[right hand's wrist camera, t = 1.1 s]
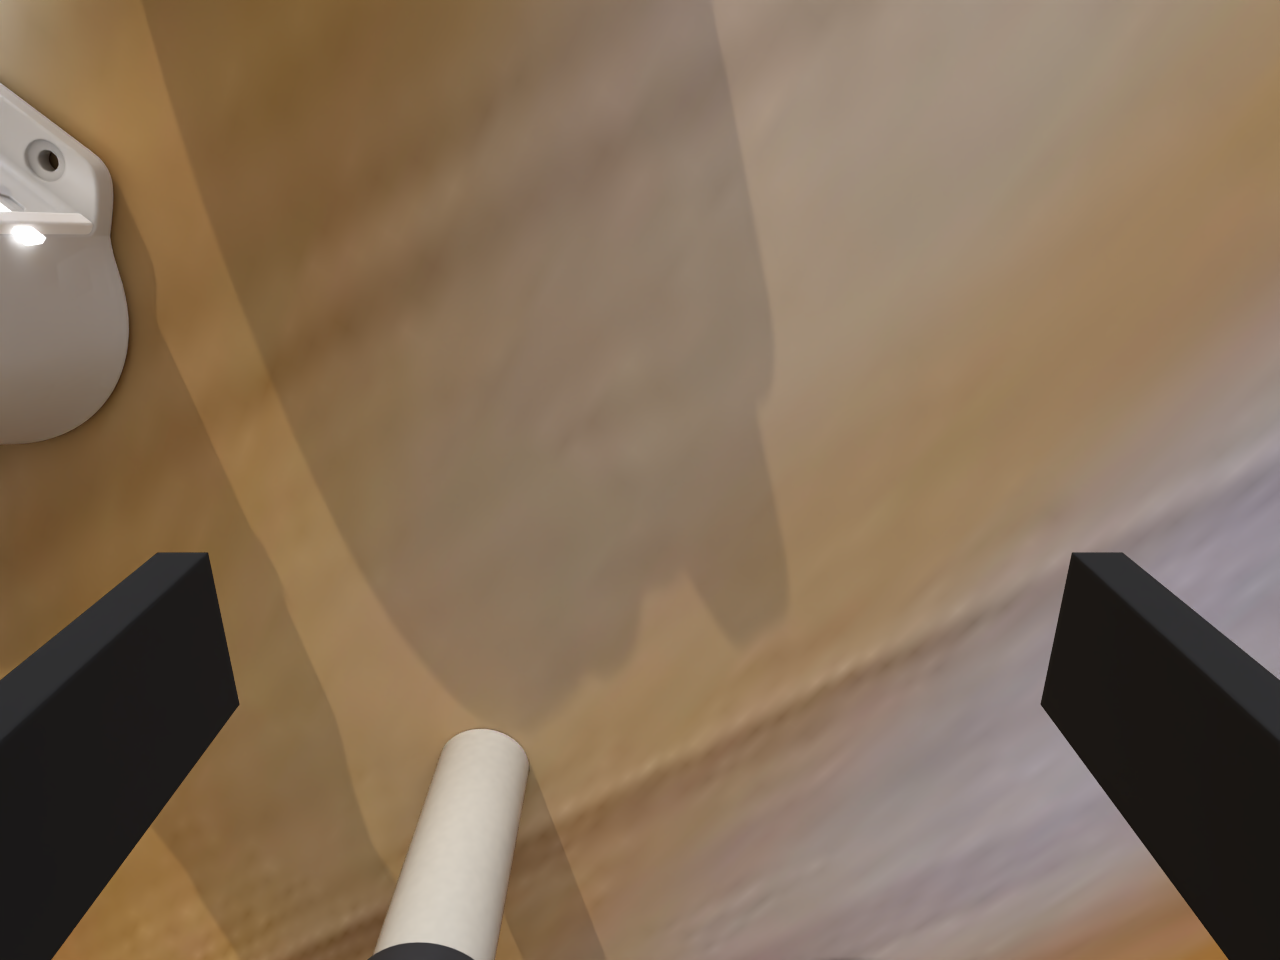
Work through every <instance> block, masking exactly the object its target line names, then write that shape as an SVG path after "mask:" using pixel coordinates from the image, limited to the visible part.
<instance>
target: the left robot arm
mask: <svg viewBox="0 0 1280 960" xmlns="http://www.w3.org/2000/svg"><path fill="white" fill-rule="evenodd" d="M51 152H53V153H54V154H55V155H56V157H57V159H58V162H59V165H58V168H57V169H56V170H55V169H54V168H53V167H52V166H51V164H50V161H49V155H50V153H51ZM112 213H113V184H112V178H111V175H110V173H109V170H108V168H107V167H106V165H105V164H104V163H103V161H102V160H101V159H100V158H99V157H98V156H97V155H96V154H94V153H93V152H92V151H90V150H89V149H88V148H86V147H85V146H84V145H82V144H81V143H80V142H78V141H77V140H76V139H74V138H73V137H72V136H70V135H69V134H68V133H66V132H65V131H64V130H62V129H61V128H60V127H58V126H57V125H56V124H55V123H53V122H52V121H51V120H49V119H48V118H47V117H45V116H44V115H43V114H41V113H40V112H39V111H37V110H36V109H35V108H33V107H32V106H31V105H29V104H28V103H27V102H25V101H24V100H23V99H21V98H20V97H19V96H17V95H16V94H15V93H13V92H12V91H11V90H9V89H8V88H7V87H5V86H4V85H3V84H1V83H0V445H2V444H25V443H33V442H39V441H44V440H48V439H51V438H54V437H57V436H60V435H62V434H65V433H67V432H69V431H71V430H73V429H75V428H76V427H78V426H80V425H81V424H83V423H84V422H85V421H87V420H88V419H89V418H90V417H92V416H93V415H94V414H95V413H96V412H97V411H98V410H99V409H100V408H101V407H102V406H103V404H104V403H105V402H106V401H107V399H108V398H109V396H110V395H111V393H112V392H113V390H114V388H115V386H116V384H117V382H118V380H119V378H120V375H121V373H122V370H123V367H124V364H125V359H126V355H127V349H128V340H129V317H128V307H127V301H126V296H125V292H124V287H123V284H122V280H121V277H120V274H119V271H118V267H117V264H116V261H115V258H114V254H113V250H112V245H111V239H110V233H111V224H112Z"/></svg>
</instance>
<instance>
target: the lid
mask: <svg viewBox="0 0 1280 960" xmlns="http://www.w3.org/2000/svg"><path fill="white" fill-rule="evenodd" d="M368 960H474V959H473V958H471V957H470V956H468V955H466V954H465V953H463V952H461V951H458V950H456V949H453V948H450V947H447V946H444V945H439V944H434V943H425V942H413V943H404V944H398V945H394V946H391V947H388V948H386V949H383V950H381V951H379V952H377V953H376V954H374V955H373V956H371V957H370V958H369V959H368Z"/></svg>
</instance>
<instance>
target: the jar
mask: <svg viewBox="0 0 1280 960" xmlns="http://www.w3.org/2000/svg"><path fill="white" fill-rule="evenodd" d="M528 775H529V761H528V758H527V755H526V753H525V751H524V750H523V748H522V747H521V746H520V745H519V744H518V743H517V742H516V741H515V740H514V739H512V738H511V737H509V736H508V735H506V734H504V733H501V732H498V731H495V730H490V729H473V730H468V731H464V732H462V733H460V734H457V735H456V736H454V737H453V738H451V739H450V740H449V741H448V742H447V743H446V744H445V746H444V747H443V749H442V751H441V753H440V756H439V759H438V762H437V765H436V768H435V771H434V774H433V777H432V780H431V783H430V786H429V789H428V792H427V795H426V798H425V801H424V804H423V807H422V809H421V812H420V815H419V818H418V821H417V824H416V827H415V830H414V833H413V836H412V839H411V842H410V845H409V848H408V851H407V854H406V857H405V860H404V863H403V866H402V869H401V872H400V875H399V878H398V881H397V884H396V887H395V890H394V893H393V896H392V899H391V902H390V904H389V907H388V910H387V913H386V916H385V919H384V922H383V925H382V928H381V931H380V934H379V937H378V940H377V943H376V946H375V949H374V952H373V955H374V954H376V953H377V952H379V951H381V950H383V949H386V948H388V947H391V946H394V945H398V944H404V943H413V942H425V943H434V944H439V945H444V946H447V947H450V948H453V949H456V950H458V951H461V952H463V953H465V954H466V955H468V956H470V957H471V958H473V959H474V960H495V957H496V951H497V946H498V940H499V935H500V929H501V924H502V918H503V913H504V907H505V902H506V896H507V891H508V885H509V880H510V874H511V869H512V863H513V858H514V852H515V847H516V841H517V836H518V830H519V825H520V819H521V814H522V808H523V803H524V797H525V792H526V786H527V780H528ZM373 955H372V956H373Z"/></svg>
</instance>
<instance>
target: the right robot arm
mask: <svg viewBox="0 0 1280 960" xmlns="http://www.w3.org/2000/svg"><path fill="white" fill-rule="evenodd" d="M238 706H239V700H238V695H237V691H236V686H235V681H234V676H233V671H232V666H231V662H230V657H229V652H228V647H227V642H226V637H225V633H224V628H223V623H222V618H221V613H220V608H219V604H218V599H217V594H216V589H215V584H214V579H213V574H212V570H211V565H210V560H209V555H208V553H156V554H155V555H154V556H153V557H152V558H150V559H149V560H148V561H147V562H145V563H144V564H143V565H142V566H140V567H139V568H138V569H137V570H136V571H134V572H133V573H132V574H131V575H129V576H128V577H127V578H126V579H124V580H123V581H122V582H121V583H119V584H118V585H117V586H116V587H115V588H113V589H112V590H111V591H110V592H108V593H107V594H106V595H105V596H103V597H102V598H101V599H100V600H99V601H97V602H96V603H95V604H94V605H92V606H91V607H90V608H89V609H87V610H86V611H85V612H84V613H83V614H81V615H80V616H79V617H78V618H76V619H75V620H74V621H73V622H71V623H70V624H69V625H68V626H67V627H65V628H64V629H63V630H62V631H60V632H59V633H58V634H57V635H55V636H54V637H53V638H52V639H51V640H49V641H48V642H47V643H46V644H44V645H43V646H42V647H41V648H39V649H38V650H37V651H36V652H35V653H33V654H32V655H31V656H30V657H28V658H27V659H26V660H25V661H23V662H22V663H21V664H20V665H19V666H17V667H16V668H15V669H14V670H12V671H11V672H10V673H9V674H7V675H6V676H5V677H4V678H3V679H1V680H0V960H51V959H52V958H53V957H54V955H55V954H56V953H57V951H58V950H59V948H60V947H61V946H62V944H63V943H64V942H65V940H66V939H67V938H68V936H69V935H70V934H71V932H72V931H73V929H74V928H75V927H76V925H77V924H78V923H79V921H80V920H81V919H82V917H83V916H84V915H85V913H86V912H87V911H88V909H89V908H90V906H91V905H92V904H93V902H94V901H95V900H96V898H97V897H98V896H99V894H100V893H101V892H102V890H103V889H104V887H105V886H106V885H107V883H108V882H109V881H110V879H111V878H112V877H113V875H114V874H115V873H116V871H117V870H118V868H119V867H120V866H121V864H122V863H123V862H124V860H125V859H126V858H127V856H128V855H129V854H130V852H131V851H132V849H133V848H134V847H135V845H136V844H137V843H138V841H139V840H140V839H141V837H142V836H143V835H144V833H145V832H146V830H147V829H148V828H149V826H150V825H151V824H152V822H153V821H154V820H155V818H156V817H157V816H158V814H159V813H160V811H161V810H162V809H163V807H164V806H165V805H166V803H167V802H168V801H169V799H170V798H171V797H172V795H173V794H174V792H175V791H176V790H177V788H178V787H179V786H180V784H181V783H182V782H183V780H184V779H185V778H186V776H187V775H188V773H189V772H190V771H191V769H192V768H193V767H194V765H195V764H196V763H197V761H198V760H199V759H200V757H201V756H202V754H203V753H204V752H205V750H206V749H207V748H208V746H209V745H210V744H211V742H212V741H213V740H214V738H215V737H216V735H217V734H218V733H219V731H220V730H221V729H222V727H223V726H224V725H225V723H226V722H227V721H228V719H229V718H230V716H231V715H232V714H233V712H234V711H235V710H236V708H237V707H238ZM1041 706H1042V707H1043V708H1044V710H1045V711H1046V712H1047V714H1048V715H1049V716H1050V718H1051V719H1052V721H1053V722H1054V723H1055V725H1056V726H1057V727H1058V729H1059V730H1060V731H1061V733H1062V734H1063V735H1064V737H1065V738H1066V740H1067V741H1068V742H1069V744H1070V745H1071V746H1072V748H1073V749H1074V750H1075V752H1076V753H1077V754H1078V756H1079V757H1080V759H1081V760H1082V761H1083V763H1084V764H1085V765H1086V767H1087V768H1088V769H1089V771H1090V772H1091V773H1092V775H1093V776H1094V778H1095V779H1096V780H1097V782H1098V783H1099V784H1100V786H1101V787H1102V788H1103V790H1104V791H1105V792H1106V794H1107V795H1108V797H1109V798H1110V799H1111V801H1112V802H1113V803H1114V805H1115V806H1116V807H1117V809H1118V810H1119V811H1120V813H1121V814H1122V816H1123V817H1124V818H1125V820H1126V821H1127V822H1128V824H1129V825H1130V826H1131V828H1132V829H1133V830H1134V832H1135V833H1136V835H1137V836H1138V837H1139V839H1140V840H1141V841H1142V843H1143V844H1144V845H1145V847H1146V848H1147V849H1148V851H1149V852H1150V854H1151V855H1152V856H1153V858H1154V859H1155V860H1156V862H1157V863H1158V864H1159V866H1160V867H1161V868H1162V870H1163V871H1164V873H1165V874H1166V875H1167V877H1168V878H1169V879H1170V881H1171V882H1172V883H1173V885H1174V886H1175V887H1176V889H1177V890H1178V892H1179V893H1180V894H1181V896H1182V897H1183V898H1184V900H1185V901H1186V902H1187V904H1188V905H1189V906H1190V908H1191V909H1192V911H1193V912H1194V913H1195V915H1196V916H1197V917H1198V919H1199V920H1200V921H1201V923H1202V924H1203V925H1204V927H1205V928H1206V929H1207V931H1208V932H1209V934H1210V935H1211V936H1212V938H1213V939H1214V940H1215V942H1216V943H1217V944H1218V946H1219V947H1220V948H1221V950H1222V951H1223V953H1224V954H1225V955H1226V957H1227V958H1228V959H1229V960H1280V680H1279V679H1277V678H1276V677H1275V676H1274V675H1273V674H1271V673H1270V672H1269V671H1268V670H1266V669H1265V668H1264V667H1263V666H1261V665H1260V664H1259V663H1258V662H1257V661H1255V660H1254V659H1253V658H1252V657H1250V656H1249V655H1248V654H1247V653H1245V652H1244V651H1243V650H1242V649H1241V648H1239V647H1238V646H1237V645H1236V644H1234V643H1233V642H1232V641H1231V640H1229V639H1228V638H1227V637H1226V636H1225V635H1223V634H1222V633H1221V632H1220V631H1218V630H1217V629H1216V628H1215V627H1213V626H1212V625H1211V624H1210V623H1209V622H1207V621H1206V620H1205V619H1204V618H1202V617H1201V616H1200V615H1199V614H1197V613H1196V612H1195V611H1194V610H1193V609H1191V608H1190V607H1189V606H1188V605H1186V604H1185V603H1184V602H1183V601H1181V600H1180V599H1179V598H1178V597H1177V596H1175V595H1174V594H1173V593H1172V592H1170V591H1169V590H1168V589H1167V588H1165V587H1164V586H1163V585H1162V584H1161V583H1159V582H1158V581H1157V580H1156V579H1154V578H1153V577H1152V576H1151V575H1149V574H1148V573H1147V572H1146V571H1144V570H1143V569H1142V568H1141V567H1140V566H1138V565H1137V564H1136V563H1135V562H1133V561H1132V560H1131V559H1130V558H1128V557H1127V556H1126V555H1125V554H1124V553H1072V555H1071V560H1070V565H1069V570H1068V574H1067V579H1066V584H1065V589H1064V594H1063V599H1062V603H1061V608H1060V613H1059V618H1058V623H1057V628H1056V633H1055V637H1054V642H1053V647H1052V652H1051V657H1050V662H1049V666H1048V671H1047V676H1046V681H1045V686H1044V691H1043V695H1042V700H1041Z"/></svg>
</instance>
